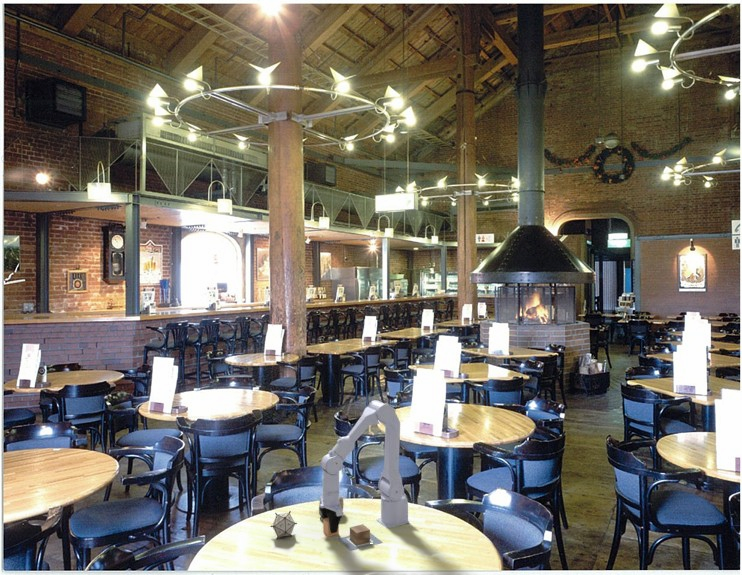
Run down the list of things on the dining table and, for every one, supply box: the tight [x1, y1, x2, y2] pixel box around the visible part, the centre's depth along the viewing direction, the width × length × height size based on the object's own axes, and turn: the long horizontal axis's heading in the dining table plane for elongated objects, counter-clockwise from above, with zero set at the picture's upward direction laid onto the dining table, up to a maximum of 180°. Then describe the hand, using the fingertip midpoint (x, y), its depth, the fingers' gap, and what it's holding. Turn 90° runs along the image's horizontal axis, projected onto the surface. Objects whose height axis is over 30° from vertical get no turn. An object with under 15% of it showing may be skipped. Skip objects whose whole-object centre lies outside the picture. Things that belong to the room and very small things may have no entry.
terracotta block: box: [322, 518, 340, 537], centre depth 188 cm, size 4×4×5 cm
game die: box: [269, 510, 298, 540], centre depth 186 cm, size 9×8×10 cm
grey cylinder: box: [318, 493, 344, 517], centre depth 206 cm, size 11×8×8 cm
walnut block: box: [349, 523, 371, 545], centre depth 183 cm, size 5×5×4 cm
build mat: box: [337, 532, 384, 552], centre depth 182 cm, size 12×10×1 cm
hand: (331, 529), depth 188 cm, fingers open, 4 cm apart
